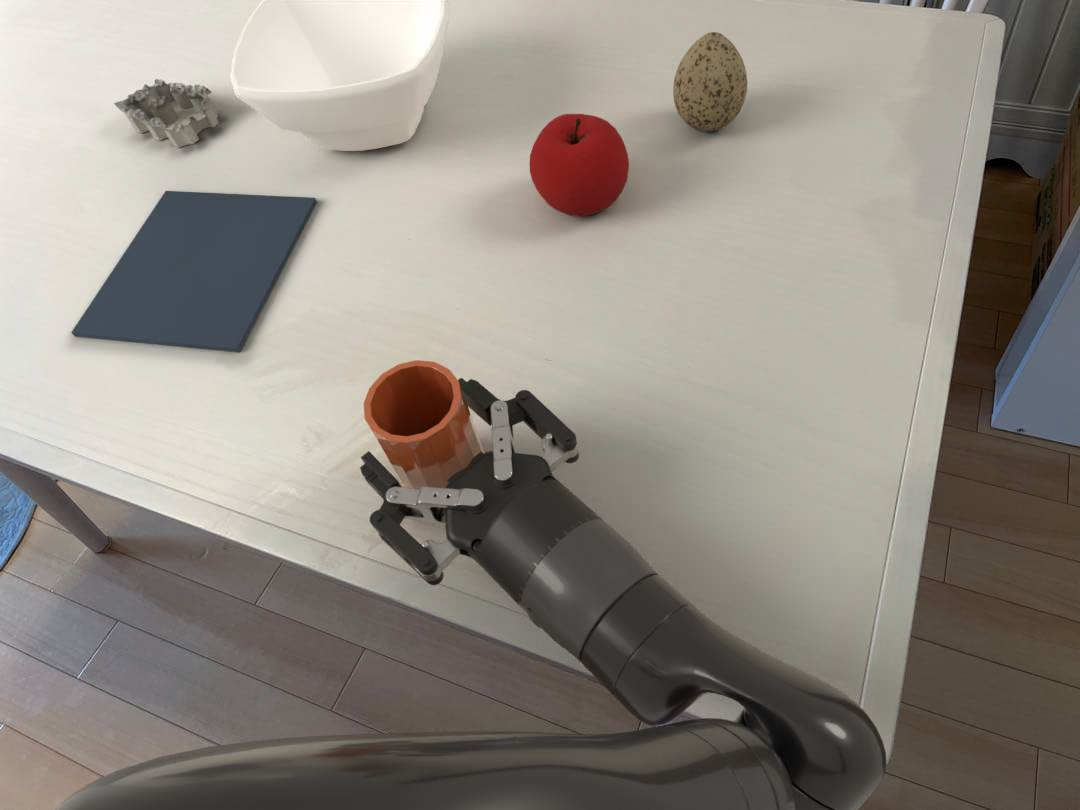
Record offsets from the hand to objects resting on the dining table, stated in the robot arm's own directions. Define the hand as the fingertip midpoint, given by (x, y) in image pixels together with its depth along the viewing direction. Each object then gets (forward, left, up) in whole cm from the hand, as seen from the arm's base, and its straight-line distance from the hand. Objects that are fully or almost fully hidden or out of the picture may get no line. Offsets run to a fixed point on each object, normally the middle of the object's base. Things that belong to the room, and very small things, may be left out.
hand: (414, 422), depth 57 cm
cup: (-1, -1, -6) cm, 7 cm away
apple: (+31, -6, -7) cm, 32 cm away
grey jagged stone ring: (+41, +45, -7) cm, 61 cm away
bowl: (+42, +20, -7) cm, 47 cm away
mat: (+19, +31, -6) cm, 37 cm away
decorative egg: (+43, -17, -7) cm, 47 cm away
